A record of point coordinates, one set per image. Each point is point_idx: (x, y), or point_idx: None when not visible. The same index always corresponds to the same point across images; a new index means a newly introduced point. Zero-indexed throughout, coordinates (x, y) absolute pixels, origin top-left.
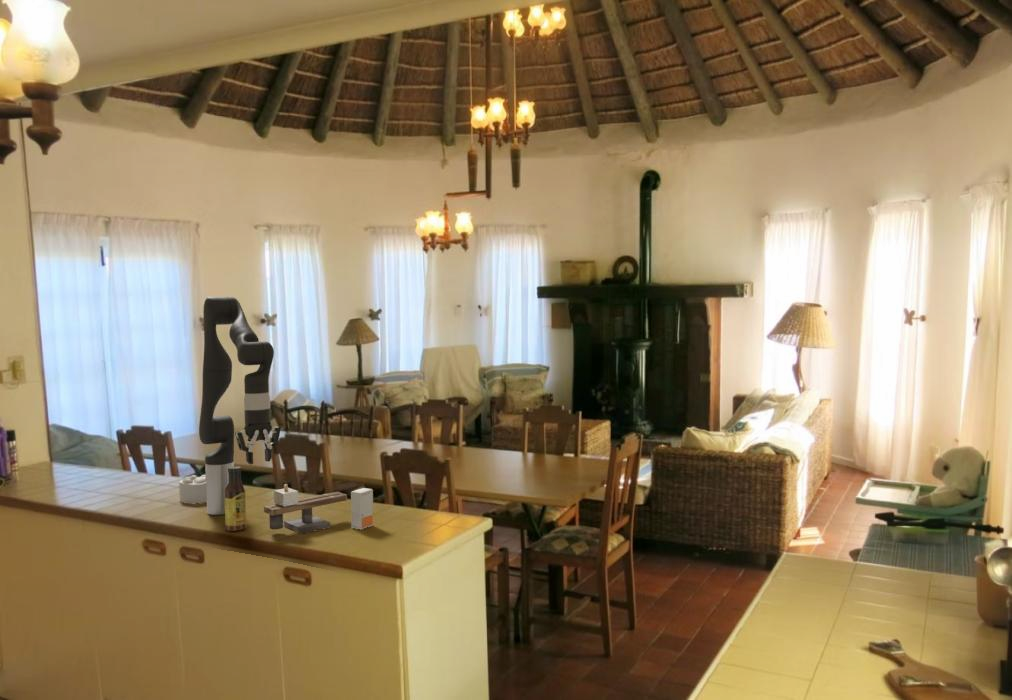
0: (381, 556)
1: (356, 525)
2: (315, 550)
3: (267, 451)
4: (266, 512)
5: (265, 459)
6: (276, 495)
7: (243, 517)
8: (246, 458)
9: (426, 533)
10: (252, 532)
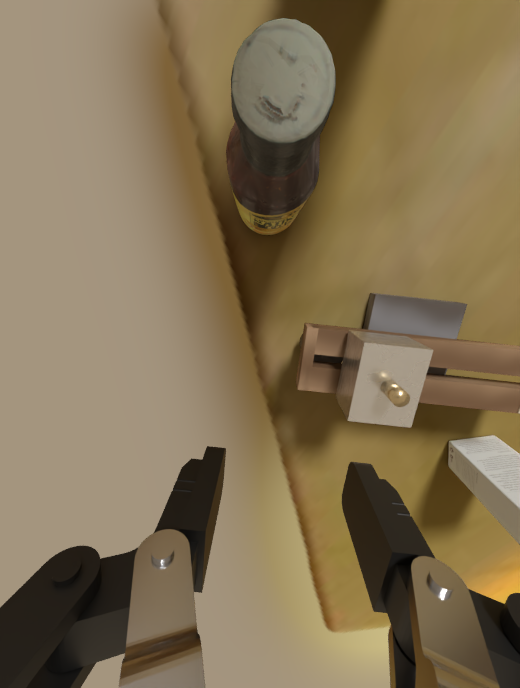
0: (345, 592)
1: (453, 461)
2: (294, 494)
3: (369, 583)
4: (302, 340)
5: (352, 473)
6: (354, 359)
7: (280, 229)
8: (175, 489)
9: (498, 568)
10: (282, 275)
